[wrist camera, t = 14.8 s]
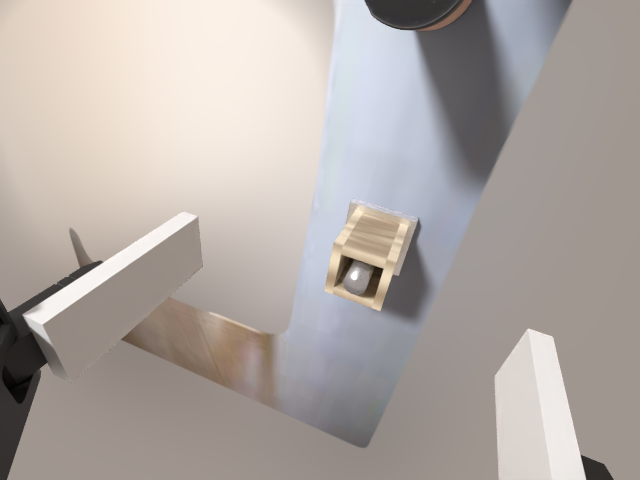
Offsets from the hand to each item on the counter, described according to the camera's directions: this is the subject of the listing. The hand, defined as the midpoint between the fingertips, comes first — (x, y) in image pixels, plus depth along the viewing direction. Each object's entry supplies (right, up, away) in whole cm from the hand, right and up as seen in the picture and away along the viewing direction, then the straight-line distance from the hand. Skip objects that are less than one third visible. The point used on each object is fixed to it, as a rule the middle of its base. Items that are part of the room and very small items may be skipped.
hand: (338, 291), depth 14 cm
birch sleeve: (+8, +2, +39) cm, 40 cm away
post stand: (+8, +3, +40) cm, 41 cm away
